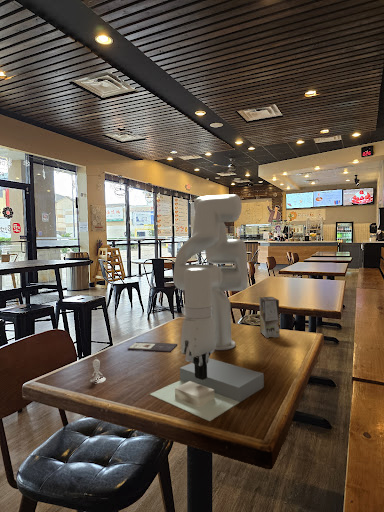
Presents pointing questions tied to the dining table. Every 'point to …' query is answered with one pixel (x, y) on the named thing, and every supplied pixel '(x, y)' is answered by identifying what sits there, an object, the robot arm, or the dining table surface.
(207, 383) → the slate deck
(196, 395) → the cream tile
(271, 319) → the coffee box
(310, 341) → the dining table surface
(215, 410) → the sage mat
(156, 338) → the dining table surface
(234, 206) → the robot arm
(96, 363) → the toy figurine
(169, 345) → the chocolate bar
